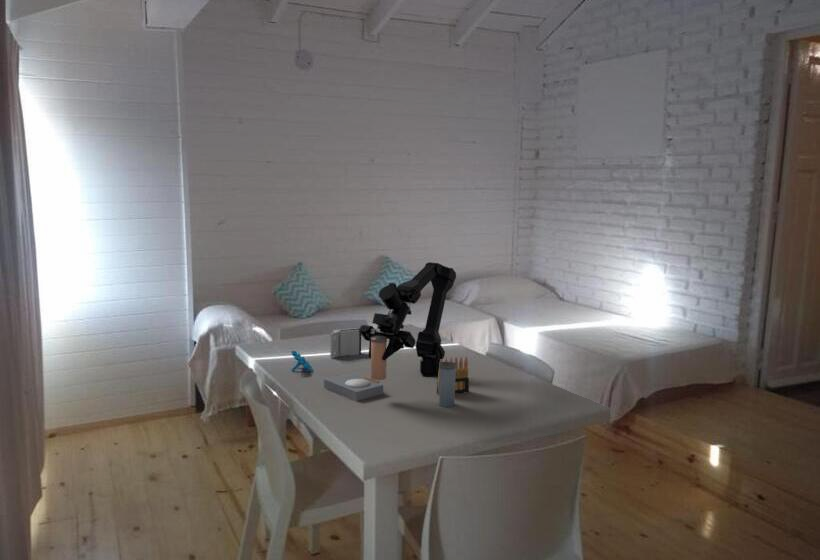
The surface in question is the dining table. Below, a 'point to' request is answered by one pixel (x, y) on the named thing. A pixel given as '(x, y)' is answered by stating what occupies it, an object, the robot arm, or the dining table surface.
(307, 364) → the gear
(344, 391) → the dock unit
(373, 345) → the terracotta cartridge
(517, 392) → the dining table surface
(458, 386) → the ammunition clip
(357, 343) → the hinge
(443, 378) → the cylinder
